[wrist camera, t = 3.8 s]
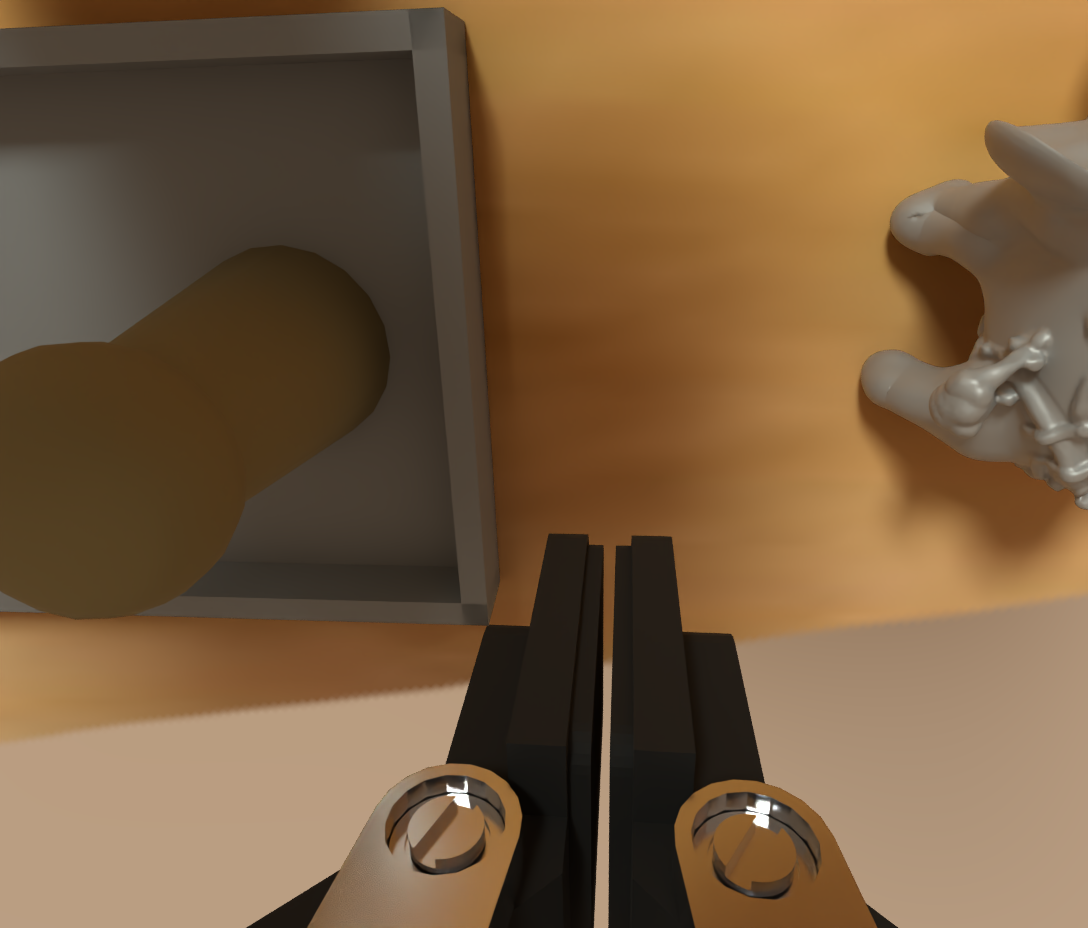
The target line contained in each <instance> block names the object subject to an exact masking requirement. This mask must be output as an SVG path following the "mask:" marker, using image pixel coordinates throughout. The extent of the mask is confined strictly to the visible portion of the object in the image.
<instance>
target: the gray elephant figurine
mask: <svg viewBox="0 0 1088 928" xmlns="http://www.w3.org/2000/svg"><path fill="white" fill-rule="evenodd" d="M985 144H986V147H987V150H988V152H989V154H990V156H991V158H992V159H993V161H994V162H995V163H996V164H997V165H998V166H999V167H1000V168H1001V169H1002V170H1003V171H1004V172H1005V173H1006V174H1007V175H1008V176H1009V177H1008V178H1006V179H1002V180H992V181H985V182H978V183H974V184H972V183H970V182H969V181H966V180H961V179H958V180H950V181H946V182H943V183H940V184H938V185H935V186H933V187H930V188H928V189H925V190H923V191H920V192H918V193H915V194H913V195H911V196H909V197H907V198H906V199H904V200H903V201H902V202H900V203H899V204H898V205H897V206H896V208H895V209H894V211H893V213H892V215H891V218H890V229H891V232H892V234H893V235H894V237H895V238H896V239H897V240H898V241H899V242H900V243H901V244H902V245H904V246H906V247H907V248H909V249H911V250H913V251H915V252H917V253H920V254H922V255H927V256H935V255H942V256H946V257H948V258H951V259H952V260H954V261H956V262H957V263H959V264H960V265H962V266H963V267H964V268H966V269H967V270H968V271H969V272H971V273H972V274H973V275H974V276H975V277H976V278H977V280H978V281H979V283H980V286H981V289H982V293H983V298H984V306H985V313H984V315H983V316H982V318H981V320H980V323H979V326H978V330H977V334H978V337H979V338H978V340H977V341H976V342H975V345H974V347H973V350H972V352H971V354H970V356H969V359H968V361H967V362H965V363H962V364H959V365H955V366H950V367H936V366H933V365H930V364H927V363H925V362H923V361H920V360H918V359H917V358H915V357H913V356H912V355H910V354H908V353H906V352H903V351H899V350H884V351H879V352H877V353H875V354H873V355H871V356H870V357H869V358H868V359H867V360H866V361H865V363H864V365H863V367H862V371H861V383H862V387H863V390H864V392H865V394H866V396H867V397H868V398H869V399H870V400H871V401H872V402H873V403H875V404H876V405H878V406H880V407H883V408H885V409H888V410H890V411H892V412H893V413H895V414H897V415H899V416H901V417H903V418H905V419H907V420H908V421H910V422H912V423H914V424H916V425H918V426H919V427H921V428H923V429H925V430H926V431H928V432H929V433H931V434H932V435H934V436H935V437H937V438H938V439H939V440H941V441H942V442H944V443H945V444H947V445H948V446H950V447H951V448H953V449H954V450H955V451H957V452H958V453H960V454H962V455H964V456H966V457H968V458H971V459H975V460H980V461H989V462H1013V463H1014V464H1015V465H1016V466H1017V467H1019V468H1021V469H1023V470H1024V471H1025V473H1026V474H1027V475H1028V476H1030V477H1032V478H1034V479H1039V480H1045V481H1046V483H1047V485H1048V486H1049V487H1051V488H1052V489H1053V490H1055V491H1060V490H1062V489H1064V488H1066V489H1068V490H1070V491H1071V492H1072V493H1073V494H1074V496H1075V504H1076V505H1077V506H1078V507H1079V508H1082V509H1086V510H1088V117H1087V118H1086V120H1081V121H1074V122H1066V123H1057V124H1044V125H1034V126H1019V127H1017V126H1014V125H1012V124H1009V123H1006V122H1003V121H999V120H995V121H991V122H990V123H989V124H988V125H987V127H986V129H985Z"/></svg>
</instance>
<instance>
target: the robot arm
mask: <svg viewBox="0 0 1088 928" xmlns="http://www.w3.org/2000/svg"><path fill="white" fill-rule="evenodd" d="M603 578H604V548H603V545H589V537H588V535H585V534H549V535H548V540H547V545H546V549H545V554H544V559H543V564H542V569H541V574H540V579H539V584H538V589H537V594H536V599H535V604H534V608H533V613H532V618H531V623H530V626H507V625H489V626H487V627H486V630H485V632H484V635H483V639H482V642H481V645H480V649H479V652H478V656H477V659H476V662H475V666H474V669H473V673H472V676H471V679H470V683H469V686H468V690H467V693H466V696H465V700H464V704H463V707H462V710H461V714H460V717H459V720H458V724H457V727H456V730H455V734H454V737H453V741H452V745H451V747H450V751H449V755H448V758H447V761H446V764H445V765H439V766H434V767H428V768H426V769H423V770H421V771H419V772H416V773H414V774H412V775H409V776H407V777H406V778H404V779H403V780H402V781H401V782H399V783H398V784H396V785H395V786H394V787H393V788H391V789H390V790H389V791H388V792H387V794H386V795H385V796H384V797H383V798H382V800H381V801H380V802H379V804H378V805H377V806H376V808H375V809H374V811H373V813H372V814H371V816H370V818H369V820H368V821H367V823H366V825H365V827H364V828H363V830H362V832H361V834H360V836H359V837H358V839H357V841H356V843H355V845H354V846H353V848H352V850H351V852H350V853H349V855H348V857H347V858H346V860H345V862H344V864H343V865H342V867H341V869H340V870H339V871H337V872H336V873H334V874H333V875H331V876H329V877H328V878H326V879H324V880H323V881H321V882H319V883H318V884H316V885H315V886H313V887H311V888H310V889H309V890H307V891H305V892H303V893H302V894H300V895H298V896H297V897H295V898H294V899H292V900H291V901H289V902H287V903H286V904H284V905H282V906H281V907H279V908H277V909H276V910H274V911H273V912H271V913H269V914H268V915H266V916H264V917H263V918H261V919H260V920H258V921H256V922H255V923H253V924H252V925H250V926H248V927H247V928H594V910H595V885H596V865H597V864H596V863H597V842H598V818H599V796H600V772H601V749H602V727H603ZM609 804H610V806H609V815H610V817H609V925H608V926H609V927H608V928H898V927H896V926H895V925H894V924H892V923H891V922H890V921H888V920H887V919H886V918H884V917H883V916H882V915H880V914H879V913H878V912H876V911H875V910H874V909H873V908H871V907H870V906H869V905H867V904H866V903H865V901H864V899H863V897H862V895H861V893H860V891H859V888H858V886H857V884H856V882H855V880H854V878H853V876H852V874H851V871H850V869H849V867H848V865H847V863H846V861H845V859H844V857H843V855H842V852H841V850H840V848H839V846H838V844H837V842H836V840H835V838H834V836H833V835H832V833H831V832H830V830H829V829H828V827H827V826H826V824H825V823H824V821H823V820H822V818H821V817H820V816H819V815H818V814H817V813H816V812H815V811H814V810H812V809H811V808H810V807H809V806H808V805H807V804H806V803H805V802H803V801H802V800H801V799H799V798H797V797H795V796H793V795H792V794H790V793H788V792H786V791H784V790H782V789H781V788H778V787H775V786H771V785H768V784H765V782H764V777H763V773H762V768H761V764H760V758H759V754H758V749H757V745H756V740H755V735H754V730H753V726H752V721H751V716H750V712H749V707H748V702H747V697H746V693H745V688H744V684H743V679H742V674H741V669H740V665H739V660H738V655H737V651H736V646H735V642H734V639H733V636H732V635H731V634H721V633H694V632H682V624H681V615H680V606H679V597H678V588H677V579H676V570H675V561H674V552H673V544H672V537H667V536H632V543H631V546H616V563H615V596H614V630H613V664H612V697H611V734H610V803H609Z"/></svg>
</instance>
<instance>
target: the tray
mask: <svg viewBox="0 0 1088 928" xmlns="http://www.w3.org/2000/svg"><path fill="white" fill-rule="evenodd" d="M277 245H284V246H288V247H292V248H297V249H301V250H305V251H309V252H314V253H316V254H318V255H319V256H321V257H323V258H325V259H326V260H328V261H330V262H331V263H333V264H335V265H337V266H338V267H340V268H342V269H343V270H345V271H346V272H347V273H348V274H349V275H350V276H351V277H352V278H353V280H354V281H355V282H356V283H357V284H358V285H359V286H360V287H361V288H362V289H363V290H364V291H365V292H366V293H367V294H368V295H369V297H370V299H371V301H372V303H373V305H374V307H375V308H376V310H377V312H378V314H379V316H380V318H381V320H382V322H383V324H384V326H385V331H386V336H387V342H388V347H389V352H390V364H389V371H388V379H387V386H386V388H385V390H384V392H383V394H382V396H381V398H380V400H379V402H378V404H377V406H376V408H375V410H374V412H373V413H371V414H370V415H369V416H368V417H367V418H366V419H365V420H364V421H363V422H362V423H360V424H359V425H358V426H357V427H356V428H355V429H354V430H352V431H351V432H349V433H348V434H346V435H345V436H343V437H342V438H340V439H339V440H337V441H336V442H334V443H333V444H331V445H330V446H328V447H327V448H325V449H324V450H322V451H321V452H319V453H318V454H316V455H315V456H313V457H312V458H310V459H309V460H307V461H306V462H304V463H303V464H301V465H300V466H298V467H297V468H295V469H294V470H292V471H291V472H289V473H288V474H286V475H285V476H283V477H282V478H280V479H279V480H277V481H276V482H274V483H273V484H271V485H270V486H268V487H267V488H265V489H264V490H262V491H261V492H259V493H258V494H256V495H255V496H253V497H252V498H250V499H249V500H247V501H246V502H245V507H244V509H243V512H242V515H241V517H240V520H239V523H238V525H237V527H236V529H235V531H234V534H233V536H232V538H231V540H230V542H229V544H228V547H227V549H226V551H225V553H224V554H223V556H222V557H221V558H220V559H219V560H218V561H217V562H216V564H215V565H214V566H213V567H212V568H211V569H210V570H209V571H208V572H207V573H206V574H205V575H204V576H203V577H201V578H200V579H199V580H198V581H197V582H196V583H195V584H194V585H193V586H191V587H190V588H189V589H188V590H187V591H186V592H185V593H183V594H181V595H179V596H177V597H176V598H174V599H172V600H170V601H169V602H167V603H165V604H162V605H160V606H157V607H154V608H151V609H149V610H146V611H143V612H141V613H138V614H135V615H139V616H174V617H208V618H243V619H278V620H312V621H347V622H382V623H416V624H451V625H486V626H489V622H490V618H491V614H492V610H493V606H494V602H495V599H496V595H497V591H498V587H499V583H500V575H499V559H498V544H497V528H496V512H495V496H494V481H493V465H492V449H491V433H490V418H489V402H488V386H487V370H486V355H485V339H484V323H483V307H482V292H481V276H480V260H479V244H478V229H477V213H476V197H475V181H474V166H473V150H472V134H471V118H470V103H469V87H468V71H467V55H466V40H465V24H464V21H463V20H461V19H460V18H458V17H457V16H455V15H454V14H453V13H451V12H450V11H448V10H447V9H445V8H444V7H442V8H422V9H401V10H380V11H359V12H338V13H318V14H297V15H276V16H255V17H234V18H214V19H193V20H172V21H151V22H130V23H109V24H89V25H68V26H47V27H26V28H5V29H0V361H2V360H4V359H6V358H8V357H10V356H12V355H14V354H17V353H20V352H22V351H25V350H28V349H31V348H34V347H37V346H40V345H52V344H64V343H76V342H108V343H109V342H110V341H112V340H113V339H115V338H116V337H117V336H119V335H120V334H122V333H123V332H125V331H126V330H127V329H129V328H130V327H132V326H133V325H134V324H136V323H137V322H139V321H140V320H141V319H143V318H144V317H146V316H147V315H148V314H150V313H151V312H153V311H154V310H156V309H157V308H158V307H160V306H161V305H163V304H164V303H165V302H167V301H168V300H170V299H171V298H172V297H174V296H175V295H177V294H178V293H180V292H181V291H182V290H184V289H185V288H187V287H188V286H189V285H191V284H192V283H194V282H195V281H196V280H198V279H199V278H201V277H202V276H204V275H205V274H206V273H208V272H209V271H211V270H212V269H213V268H215V267H216V266H218V265H219V264H220V263H222V262H223V261H225V260H227V259H229V258H231V257H233V256H235V255H237V254H239V253H241V252H244V251H246V250H248V249H250V248H257V247H267V246H277ZM0 612H35V613H46V612H42V611H39V610H37V609H35V608H33V607H30V606H28V605H26V604H24V603H22V602H20V601H18V600H16V599H14V598H12V597H10V596H8V595H6V594H4V593H2V592H1V591H0Z"/></svg>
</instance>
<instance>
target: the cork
mask: <svg viewBox="0 0 1088 928" xmlns="http://www.w3.org/2000/svg"><path fill="white" fill-rule="evenodd" d="M389 364H390V352H389V347H388V342H387V336H386V331H385V326H384V324H383V322H382V320H381V318H380V316H379V314H378V312H377V310H376V308H375V307H374V305H373V303H372V301H371V299H370V297H369V295H368V294H367V293H366V292H365V291H364V290H363V289H362V288H361V287H360V286H359V285H358V284H357V283H356V282H355V281H354V280H353V278H352V277H351V276H350V275H349V274H348V273H347V272H346V271H345V270H343V269H342V268H340V267H338V266H337V265H335V264H333V263H331V262H330V261H328V260H326V259H325V258H323V257H321V256H319V255H318V254H316V253H314V252H309V251H305V250H301V249H297V248H292V247H288V246H284V245H277V246H267V247H257V248H250V249H248V250H246V251H244V252H241V253H239V254H237V255H235V256H233V257H231V258H229V259H227V260H225V261H223V262H222V263H220V264H219V265H218V266H216V267H215V268H213V269H212V270H211V271H209V272H208V273H206V274H205V275H204V276H202V277H201V278H199V279H198V280H196V281H195V282H194V283H192V284H191V285H189V286H188V287H187V288H185V289H184V290H182V291H181V292H180V293H178V294H177V295H175V296H174V297H172V298H171V299H170V300H168V301H167V302H165V303H164V304H163V305H161V306H160V307H158V308H157V309H156V310H154V311H153V312H151V313H150V314H148V315H147V316H146V317H144V318H143V319H141V320H140V321H139V322H137V323H136V324H134V325H133V326H132V327H130V328H129V329H127V330H126V331H125V332H123V333H122V334H120V335H119V336H117V337H116V338H115V339H113V340H112V341H110V342H109V343H108V342H76V343H64V344H52V345H40V346H37V347H34V348H31V349H28V350H25V351H22V352H20V353H17V354H14V355H12V356H10V357H8V358H6V359H4V360H2V361H0V591H1V592H2V593H4V594H6V595H8V596H10V597H12V598H14V599H16V600H18V601H20V602H22V603H24V604H26V605H28V606H30V607H33V608H35V609H37V610H39V611H42V612H46V613H51V614H55V615H59V616H64V617H68V618H73V619H100V618H116V617H124V616H132V615H135V614H138V613H141V612H143V611H146V610H149V609H151V608H154V607H157V606H160V605H162V604H165V603H167V602H169V601H170V600H172V599H174V598H176V597H177V596H179V595H181V594H183V593H185V592H186V591H187V590H188V589H189V588H190V587H191V586H193V585H194V584H195V583H196V582H197V581H198V580H199V579H200V578H201V577H203V576H204V575H205V574H206V573H207V572H208V571H209V570H210V569H211V568H212V567H213V566H214V565H215V564H216V562H217V561H218V560H219V559H220V558H221V557H222V556H223V554H224V553H225V551H226V549H227V547H228V544H229V542H230V540H231V538H232V536H233V534H234V531H235V529H236V527H237V525H238V523H239V520H240V517H241V515H242V512H243V509H244V507H245V502H246V501H247V500H249V499H250V498H252V497H253V496H255V495H256V494H258V493H259V492H261V491H262V490H264V489H265V488H267V487H268V486H270V485H271V484H273V483H274V482H276V481H277V480H279V479H280V478H282V477H283V476H285V475H286V474H288V473H289V472H291V471H292V470H294V469H295V468H297V467H298V466H300V465H301V464H303V463H304V462H306V461H307V460H309V459H310V458H312V457H313V456H315V455H316V454H318V453H319V452H321V451H322V450H324V449H325V448H327V447H328V446H330V445H331V444H333V443H334V442H336V441H337V440H339V439H340V438H342V437H343V436H345V435H346V434H348V433H349V432H351V431H352V430H354V429H355V428H356V427H357V426H358V425H359V424H360V423H362V422H363V421H364V420H365V419H366V418H367V417H368V416H369V415H370V414H371V413H373V412H374V410H375V408H376V406H377V404H378V402H379V400H380V398H381V396H382V394H383V392H384V390H385V388H386V386H387V379H388V371H389Z"/></svg>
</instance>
